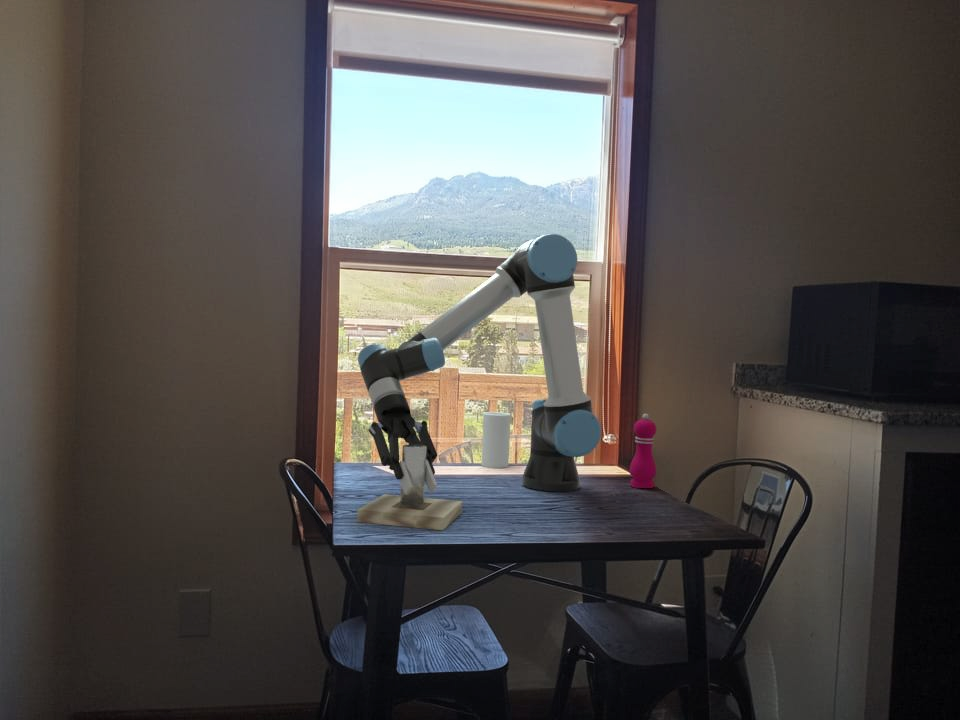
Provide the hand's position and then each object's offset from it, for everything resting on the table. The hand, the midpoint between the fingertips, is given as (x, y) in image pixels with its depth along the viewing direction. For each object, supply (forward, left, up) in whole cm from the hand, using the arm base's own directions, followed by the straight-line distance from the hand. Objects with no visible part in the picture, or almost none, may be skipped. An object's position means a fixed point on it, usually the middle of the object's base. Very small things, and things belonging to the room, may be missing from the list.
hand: (421, 489), depth 151 cm
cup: (-1, -74, -7) cm, 74 cm away
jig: (+3, -3, -6) cm, 7 cm away
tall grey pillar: (+3, -3, -3) cm, 5 cm away
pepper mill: (-45, -58, -7) cm, 74 cm away
